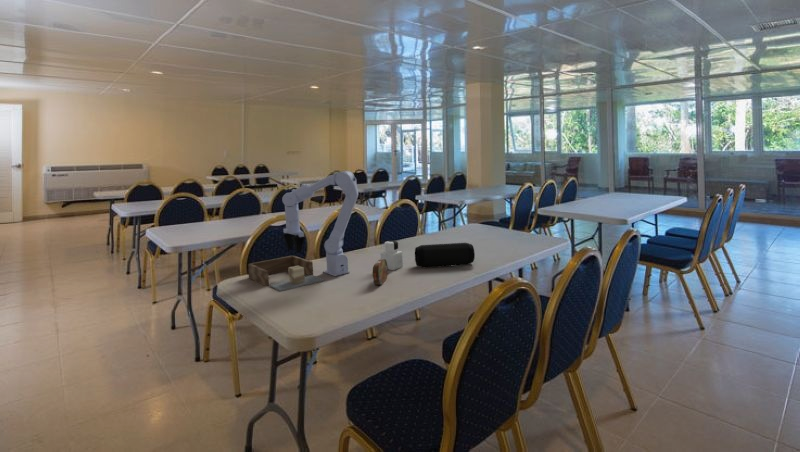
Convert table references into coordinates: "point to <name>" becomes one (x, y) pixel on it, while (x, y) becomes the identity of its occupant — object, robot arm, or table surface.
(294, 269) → the block
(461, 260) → the portable speaker
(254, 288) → the table surface
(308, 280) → the mat
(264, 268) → the wooden u-shaped frame
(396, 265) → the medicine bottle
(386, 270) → the tin
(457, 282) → the table surface
